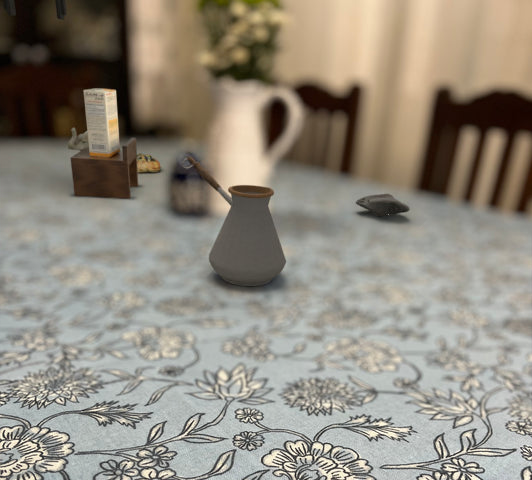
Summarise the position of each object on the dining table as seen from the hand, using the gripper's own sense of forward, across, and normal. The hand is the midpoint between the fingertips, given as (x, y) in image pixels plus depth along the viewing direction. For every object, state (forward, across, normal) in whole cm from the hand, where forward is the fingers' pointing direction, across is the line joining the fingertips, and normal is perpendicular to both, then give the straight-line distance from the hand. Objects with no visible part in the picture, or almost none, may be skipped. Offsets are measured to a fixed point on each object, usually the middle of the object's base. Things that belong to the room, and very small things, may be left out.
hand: (36, 17), depth 105 cm
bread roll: (+34, +16, +26) cm, 45 cm away
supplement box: (+26, +12, -2) cm, 28 cm away
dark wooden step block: (+33, +12, -2) cm, 35 cm away
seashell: (+34, +75, -13) cm, 83 cm away
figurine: (+34, +7, +11) cm, 36 cm away
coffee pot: (+34, +39, -51) cm, 72 cm away
